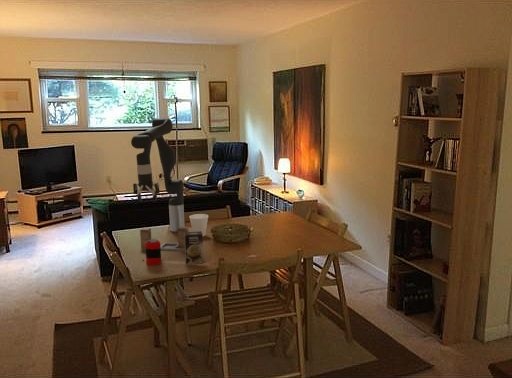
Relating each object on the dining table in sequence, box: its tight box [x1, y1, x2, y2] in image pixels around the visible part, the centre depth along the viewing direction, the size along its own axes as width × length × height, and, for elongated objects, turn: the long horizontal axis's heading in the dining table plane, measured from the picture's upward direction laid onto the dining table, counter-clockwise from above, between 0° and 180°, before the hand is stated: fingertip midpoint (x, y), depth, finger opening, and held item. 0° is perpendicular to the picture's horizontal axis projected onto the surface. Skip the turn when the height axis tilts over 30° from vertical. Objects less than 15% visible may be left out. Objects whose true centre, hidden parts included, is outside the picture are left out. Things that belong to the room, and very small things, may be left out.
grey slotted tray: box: [160, 242, 185, 253], centre depth 263 cm, size 12×21×3 cm, turn 80°
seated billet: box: [177, 225, 189, 249], centre depth 261 cm, size 4×4×12 cm
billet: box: [139, 227, 152, 251], centre depth 266 cm, size 4×4×12 cm
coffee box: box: [184, 231, 204, 266], centre depth 242 cm, size 9×6×16 cm
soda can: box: [145, 238, 162, 266], centre depth 243 cm, size 8×8×12 cm
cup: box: [189, 213, 209, 237], centre depth 291 cm, size 12×12×12 cm
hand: (147, 201), depth 256 cm, fingers open, 8 cm apart
